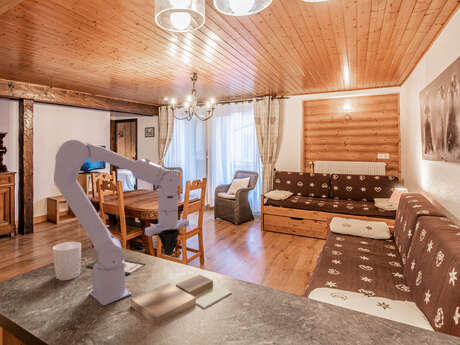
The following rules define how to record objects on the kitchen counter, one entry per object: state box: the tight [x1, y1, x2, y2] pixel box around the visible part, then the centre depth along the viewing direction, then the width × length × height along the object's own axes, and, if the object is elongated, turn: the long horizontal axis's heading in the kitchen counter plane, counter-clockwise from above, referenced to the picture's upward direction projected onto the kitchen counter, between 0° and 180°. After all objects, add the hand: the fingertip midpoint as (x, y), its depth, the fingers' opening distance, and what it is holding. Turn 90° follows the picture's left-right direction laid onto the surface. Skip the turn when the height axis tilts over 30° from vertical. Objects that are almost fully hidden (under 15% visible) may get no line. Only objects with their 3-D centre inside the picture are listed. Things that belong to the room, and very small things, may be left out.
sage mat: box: [163, 272, 232, 309], centre depth 81 cm, size 18×11×1 cm, turn 48°
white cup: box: [52, 241, 82, 281], centre depth 89 cm, size 8×8×10 cm
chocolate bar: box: [85, 259, 146, 277], centre depth 97 cm, size 9×1×18 cm
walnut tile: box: [176, 274, 214, 296], centre depth 81 cm, size 6×9×2 cm, turn 138°
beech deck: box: [130, 282, 197, 326], centre depth 73 cm, size 12×12×2 cm
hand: (168, 253), depth 84 cm, fingers closed
